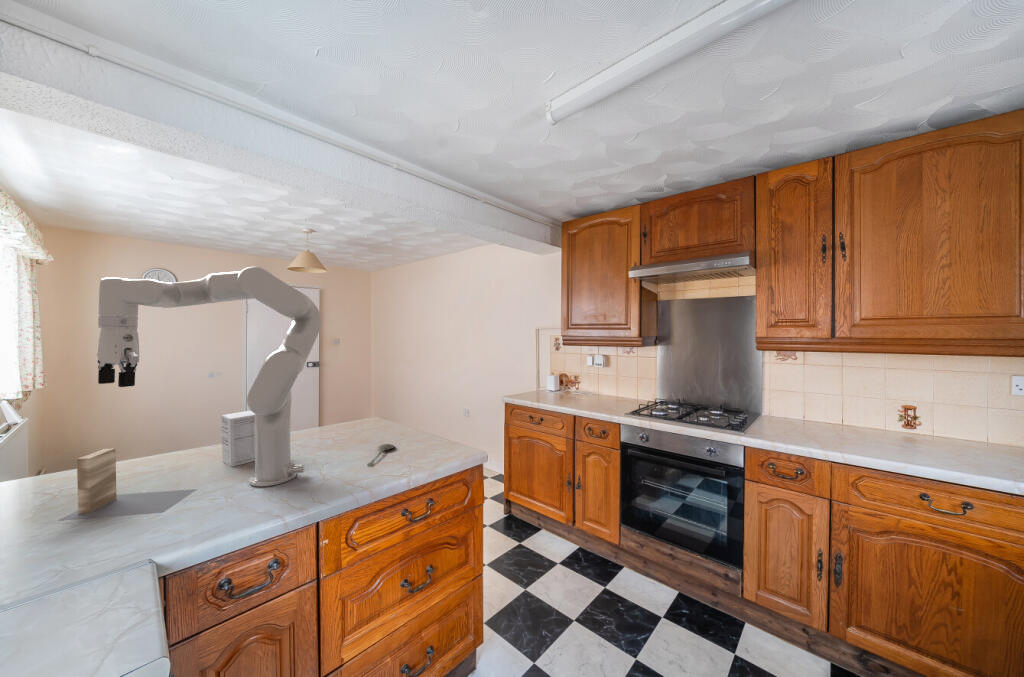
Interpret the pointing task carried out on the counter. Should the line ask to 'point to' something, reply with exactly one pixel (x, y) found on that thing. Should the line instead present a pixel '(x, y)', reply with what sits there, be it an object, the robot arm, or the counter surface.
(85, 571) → the counter surface
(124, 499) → the rubber mat
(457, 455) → the counter surface
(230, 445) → the supplement box
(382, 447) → the soupspoon
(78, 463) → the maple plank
